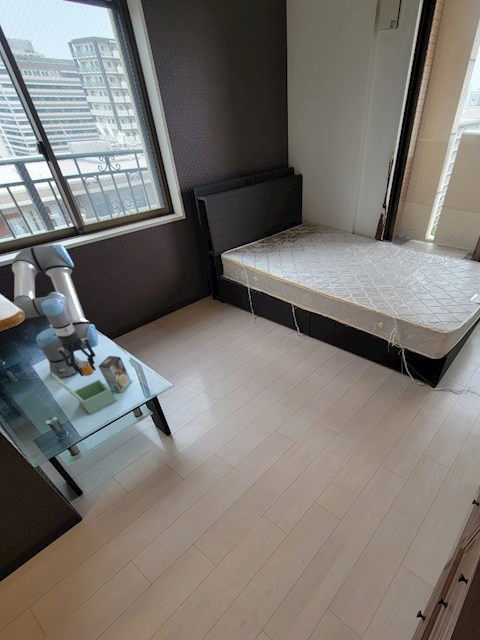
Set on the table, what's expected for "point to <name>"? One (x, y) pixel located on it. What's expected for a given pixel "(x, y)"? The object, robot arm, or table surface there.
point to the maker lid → (66, 387)
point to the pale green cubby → (95, 396)
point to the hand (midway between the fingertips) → (87, 372)
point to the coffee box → (115, 373)
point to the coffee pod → (85, 368)
